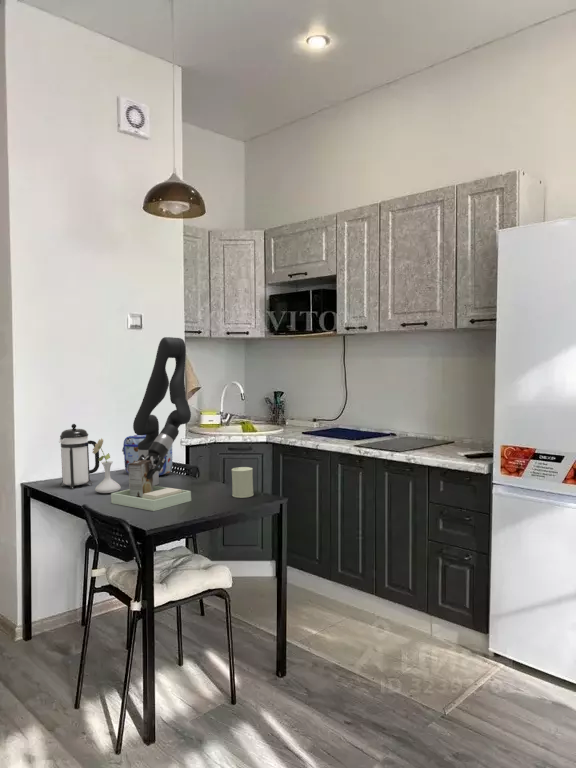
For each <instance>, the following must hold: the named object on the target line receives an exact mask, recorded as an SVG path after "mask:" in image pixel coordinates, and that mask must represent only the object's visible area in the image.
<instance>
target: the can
mask: <svg viewBox="0 0 576 768" xmlns="http://www.w3.org/2000/svg"><path fill="white" fill-rule="evenodd" d="M231 478H232V479H231V482H232V483H231V484H232V486H231V489H232V490H231V491H232V494H231V495H232V497H233V498H236V499H237V498H240V499H242V498H250V497H253V496H254V479H253V467H249V466H240V467H233V468H231Z"/></svg>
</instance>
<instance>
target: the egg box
mask: <svg viewBox="0 0 576 768" xmlns="http://www.w3.org/2000/svg"><path fill="white" fill-rule="evenodd" d="M181 490H182V489H180V488H172V487H167V488H165V489H161V490H157V491H153V492H149V493H145V494H143V495H142V498H144V499H150V500H156V499H160V498H164V497H168V496H172V495H176V494H180V493H182V491H181Z"/></svg>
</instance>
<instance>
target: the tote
mask: <svg viewBox="0 0 576 768" xmlns="http://www.w3.org/2000/svg"><path fill="white" fill-rule="evenodd" d="M165 488H168V487H166V486H159V485H153V491H157V490H161V489H165ZM181 491H182V493H180V494H176V495H172V496H168V497H164V498H160V499H156V500H150V499H144V498H138V497H132V496H130V488H128V489H124V490H119V491H116V492H112V493H110V498H111V499H110V500H111V504H112V505H118V506H119V505H120V506H125V507H130V508H136V509H141V510H144V511H145V510H146V511H150V512H151V511H152V512H155V511H159V510H163V509H167V508H170V507H175V506H177V505H182V504H184V503H188V502H192V491H191V490H186V489H181Z"/></svg>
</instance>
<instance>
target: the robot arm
mask: <svg viewBox="0 0 576 768" xmlns="http://www.w3.org/2000/svg"><path fill="white" fill-rule="evenodd" d="M157 346H158V347H157V351H156V355H155V360H154V363H153V368H152V371H151V374H150V377H149V380H148V383H147V386H146V389H145V392H144V395H143V397H142V401H141V404H140V406H139V408H138V411H137V412H136V415H135V417H134V420H133V425H132V428H133V432H134V433H135V435H146V437H145V439H144V440H143V441H141V442H139V443H138V460H151V469H150V471H149V472H148V474H147V475H146V477H147V478H148V479H151V478H152V476H153V485H154V486H159V484H160V481H159V480H160V477H159V476H160V475H159V472H158V471H160V470H161V469H162V467H163V465H164V463H165V462H166V460H165V459H164V457H165V456H166V454H167V452H168V451H169V449H170V448H171V446H172V447H173V443H174V442H175V441H176V439H177V437H178V436H179V434H180V432H179V431H180V430H179V428H180V427H181V425H186V424H187V423H189V422H191V421H190V420H191V419H192V418H191V417H192V412H191V408H190V404H189V403H188V400H187V393H186V384H185V383H186V380H185V377H186V360H187V359H186V355H187V354H186V353H187V349H186V347H187V346H186V341H185V340H184V339H183V338H181V337H172V336H171V337H170V336H169V337H167V336H166V337H165V336H164V337H162V338H161V339H160V341H159V344H158V345H157ZM169 358H170V359H175V368H174V371H173V374H172V376H171V379H169V376H168V374H167V370H166V367H167V362H168V361H169ZM168 390H169V396H170V397H169V399H170V402H171V404H172V405H174V406H175V409H174V410H173V411H171V412H170V413H169V415H168V417H167V419H166V421H165V424H164V427H162V429H161V431H160V425H159V424H160V423H159V419H158V417H157V416H156V415H154V414H151V413H152V412H153V411H154V410H155V408H156V407H157V406H159V404H160V403H161V402H162V401H163V400H164V398H166V395H167V392H168ZM138 460H137V461H138ZM159 465H160V467H158V466H159Z"/></svg>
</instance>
